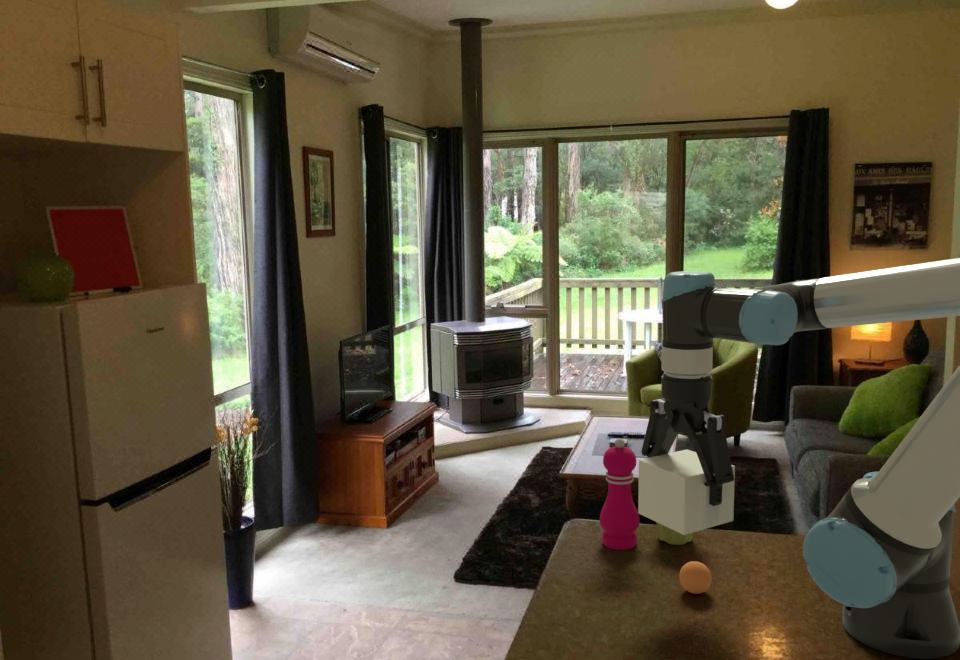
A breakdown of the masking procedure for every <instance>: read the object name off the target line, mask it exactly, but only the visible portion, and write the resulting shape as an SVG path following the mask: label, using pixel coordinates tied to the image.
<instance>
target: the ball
mask: <svg viewBox="0 0 960 660" xmlns="http://www.w3.org/2000/svg"><path fill="white" fill-rule="evenodd" d="M678 575H679V576H678V577H679V583H680V584H681V586H682V588H683V589H684V590H686V591H687V592H688V593H691V594H699V595H700V594H703V593H704V592H706V591H708V590H709V588H710V586H711V585H712V574H711V570H710V569H709V568H708V566H707V565H706V564H704V563H702V562H700V561H698V560H697V561H695V560H694V561H688V562H686V563H685V564H684V565H682V567H681V569H680V571H679V574H678Z"/></svg>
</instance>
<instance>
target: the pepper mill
mask: <svg viewBox="0 0 960 660" xmlns="http://www.w3.org/2000/svg"><path fill="white" fill-rule="evenodd" d="M625 443H626V442H625V441H624V439H622V438H617V439H616V440H614V446H612V447H611V446H610V447H609V448H608V449H607V450H606V451H605V452H604V454H603V457H602V464H603V466H604V468H605V469H606V470H607V471H606V472H605V476H606V477H605V481H607V485H608V490H607V494H606V495H607V496H606V498H605V501H604V503H603V506H602V508H601V511H600V515H599V524H600V526H601V528H602V529H603V532H602V535H601V536H602V537H601V539H602V540H601V541H602V542H601V543H602V544H603V546H605V547H606V548H607V549H610V550H611V549H612V550H616V551H617V550H618V551H625V550H631V549H634V548H635V547H636V546H637V545H638V543H637V541H638V540H637V538H638V537H637V536H638V535H637V533H636V532H635V531H637V530H638V528H639V527H640V516H639V515H640V514H639V513H638V508H637V507H636V505H635V503H634V500H633V495H632V483H633V482H634V472H633V471H634V470H635V468H636V466H637V457H636V454H635V453H634V451H633V450H632V449H631V448H629V447H628V446H627V447H626V446H625V445H626V444H625Z"/></svg>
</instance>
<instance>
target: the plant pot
mask: <svg viewBox="0 0 960 660" xmlns="http://www.w3.org/2000/svg"><path fill="white" fill-rule="evenodd" d="M656 529H657V538H658V539H659V540H660V541H661V542H665V543H667V544H668V545H672V546H673V545H676V546H681V545H685V544H687V543H691V541H692V540H693V533H694V532H693V533H689V534H686V535H683V534H681V533H679V532H676V531H674V530H672V529H670V528H668V527H666V526H664V525H662V524H660V523H658V522H656Z"/></svg>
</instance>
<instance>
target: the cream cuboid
mask: <svg viewBox="0 0 960 660" xmlns="http://www.w3.org/2000/svg"><path fill="white" fill-rule="evenodd" d="M732 469H733V474H734V481H732V482H728V483H725V484H723V485H722V502H721V504H720V505H719V523H716V524H713V525H709V526H706V527H705V526H703V525H702V491H703V483H706V482H707V480H706V477H705V475H704V472H703V469H702V467H701V464H700V461H699V458H698V456H697V453H696V451H693V450H691V449H688V448H687V449H683V450H678V451H673V452H668V454H663V455H659V456H654V457H650V458H648V457H646V458H642V459H638V497H637V498H638V501H637V503H638V508H637V511H638V515H641V516H643V517H645V518H648V519H649V520H652V521H653V522H656V523H657V522H658V523H660V524H662V525H664V526H666V527H668V528H670V529H672V530H674V531H676V532H679V533H681V534H683V535H686V534H689V533H695V532H701V531H703V530H706V529H707V530H708V529H710V528H713V527H716V526H717V527H718V526H720V525H724V524H728V523H730V522H733V521H734V509H735V507H734V506H735V504H734V503H735V478H736V477H735V475H736V473H735V472H736V466H735V465H733V464H732ZM713 476H715V473H714V474H713Z"/></svg>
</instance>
